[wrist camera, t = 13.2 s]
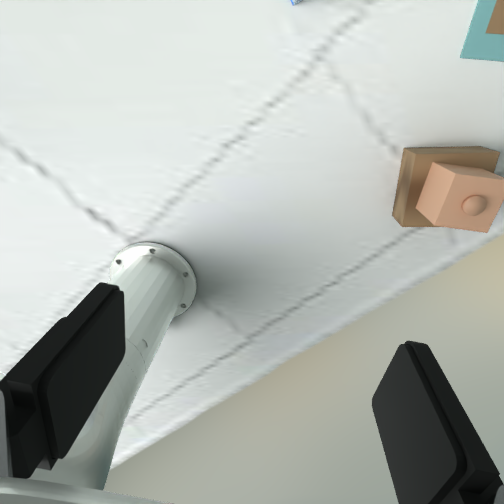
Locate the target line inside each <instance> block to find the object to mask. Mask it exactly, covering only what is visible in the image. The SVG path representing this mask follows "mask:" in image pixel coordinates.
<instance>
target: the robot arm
mask: <svg viewBox="0 0 504 504" xmlns="http://www.w3.org/2000/svg"><path fill="white" fill-rule="evenodd" d="M109 278H110V281H109V282H108V283H102V282H101V283H99V284H97V285H96V286H95V288H94V289H93V290H92V291H91V292H90V293H89V294H88V295H87V296H86V297H85V298H84V299H83V300H82V301H81V302H80V303H79V304H78V306H77V307H76V308H75V309H74V310H73V311H72V312H71V313H70V314H69V315H68V316H67V317H64V318H61V319H60V320H59V321H58V322H57V323H56V324H55V325H54V326H53V327H52V328H51V329H50V330H49V331H48V332H47V333H46V334H45V335H44V336H43V337H42V338H41V339H40V340H39V341H38V342H37V343H36V344H35V345H34V346H33V347H32V349H31V350H30V351H29V352H28V353H27V354H26V355H25V356H24V357H23V358H22V359H21V360H20V361H19V362H18V363H17V364H16V365H15V366H14V367H13V368H12V369H11V370H10V371H9V372H8V373H7V374H5V373H3V372H1V371H0V504H173V503H167V502H162V501H157V500H151V499H146V498H140V497H135V496H129V495H124V494H119V493H113V492H108V491H103V489H104V486H105V483H106V480H107V476H108V473H109V469H110V466H111V462H112V459H113V455H114V451H115V448H116V445H117V441H118V438H119V435H120V432H121V430H122V427H123V424H124V421H125V419H126V417H127V414H128V412H129V409H130V407H131V405H132V403H133V400H134V398H135V396H136V394H137V392H138V389H139V387H140V385H141V383H142V381H143V379H144V377H145V375H146V373H147V371H148V369H149V367H150V364H151V362H152V360H153V358H154V356H155V354H156V352H157V350H158V348H159V346H160V344H161V342H162V340H163V337H164V335H165V333H166V331H167V329H168V327H169V325H170V323H171V321H172V319H173V317H176V316H178V315H180V314H182V313H183V312H184V311H186V310H187V309H188V308H189V306H190V305H191V304H192V301H193V299H194V297H195V294H196V288H197V284H196V278H195V275H194V272H193V270H192V268H191V267H190V265H189V264H188V262H187V261H186V260H185V259H184V258H183V257H182V256H181V255H179V254H178V253H177V252H175V251H174V250H172V249H170V248H168V247H166V246H163V245H161V244H156V243H149V242H142V243H136V244H133V245H130V246H128V247H126V248H124V249H123V250H122V251H121V252H120V253H118V254H117V256H116V257H115V258H114V259H113V261H112V263H111V266H110V271H109ZM372 408H373V412H374V416H375V419H376V423H377V426H378V429H379V433H380V437H381V441H382V444H383V448H384V452H385V455H386V459H387V463H388V466H389V470H390V473H391V477H392V480H393V484H394V488H395V491H396V495H397V499H398V502H399V504H504V484H503V482H502V480H501V479H500V477H499V474H500V473H499V471H498V470H497V468H496V466H495V464H494V462H493V461H492V459H491V457H490V455H489V453H488V452H487V450H486V448H485V446H484V444H483V443H482V441H481V439H480V437H479V435H478V434H477V432H476V430H475V429H474V427H473V425H472V423H471V421H470V419H469V418H468V416H467V414H466V412H465V410H464V409H463V407H462V405H461V403H460V402H459V400H458V398H457V396H456V394H455V393H454V391H453V389H452V387H451V385H450V384H449V382H448V380H447V378H446V376H445V375H444V373H443V371H442V369H441V368H440V366H439V364H438V362H437V360H436V359H435V357H434V355H433V353H432V351H431V350H430V348H429V346H428V345H427V344H424V343H418V342H413V341H406V342H405V344H401V345H400V346H399V347H398V349H397V351H396V353H395V355H394V357H393V359H392V361H391V362H390V364H389V366H388V368H387V370H386V372H385V374H384V376H383V378H382V380H381V382H380V384H379V386H378V388H377V390H376V392H375V394H374V396H373V398H372Z"/></svg>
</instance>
